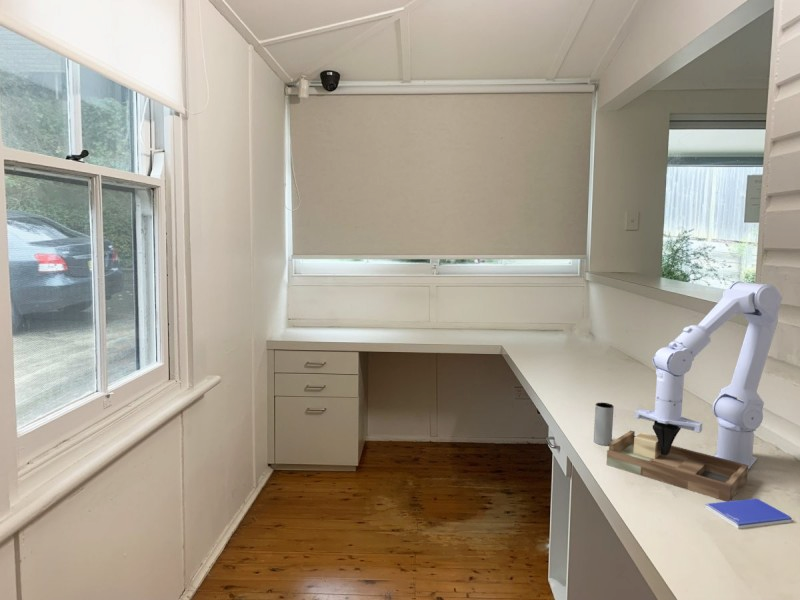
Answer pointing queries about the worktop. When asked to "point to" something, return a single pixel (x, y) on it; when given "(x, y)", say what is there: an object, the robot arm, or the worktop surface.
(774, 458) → the worktop surface
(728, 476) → the tray
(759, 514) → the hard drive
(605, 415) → the planter
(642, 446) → the maple block
